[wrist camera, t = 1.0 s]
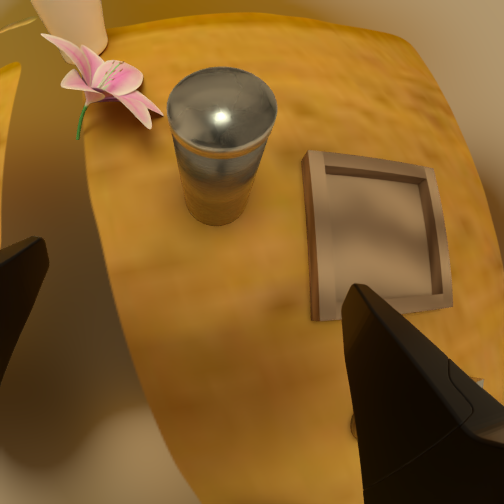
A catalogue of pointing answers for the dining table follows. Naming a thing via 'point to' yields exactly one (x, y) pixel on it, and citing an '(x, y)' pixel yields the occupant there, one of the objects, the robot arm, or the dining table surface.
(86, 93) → the lily
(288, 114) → the dining table surface
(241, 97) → the polished metal cylinder
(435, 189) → the taupe tray
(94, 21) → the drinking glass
